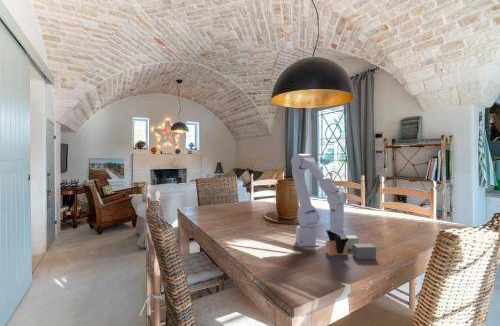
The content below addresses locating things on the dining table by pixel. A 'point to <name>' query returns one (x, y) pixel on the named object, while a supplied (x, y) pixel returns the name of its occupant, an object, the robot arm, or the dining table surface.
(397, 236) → the dining table surface
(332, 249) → the terracotta block
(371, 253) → the charcoal block
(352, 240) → the sage block
